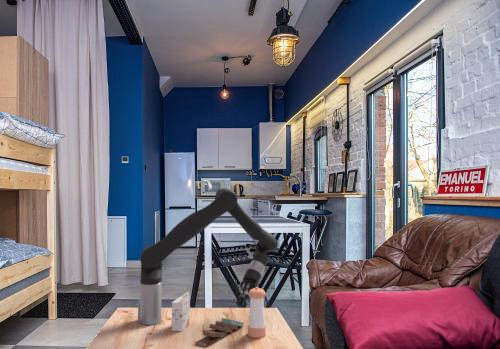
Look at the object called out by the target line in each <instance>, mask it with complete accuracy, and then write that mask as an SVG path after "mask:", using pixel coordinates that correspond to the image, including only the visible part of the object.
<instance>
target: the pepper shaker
mask: <svg viewBox="0 0 500 349" xmlns="http://www.w3.org/2000/svg"><path fill="white" fill-rule="evenodd" d="M248 295H249V297H250V300H249V301H250V302H249V312H248V313H249V314H248V325H247V336H248V337H250V338H251V339H252V338H253V339H261V338H264V337H266V330H267V328H266V324H265V323H266V316H265V315H266V314H265V308H264V306H265V305H264V300H265V299H264V298H265V297H266V292H265V290H264V289H263V288H259V287H258V286H257V287H255V288H253V289H251V290H250V291H249V293H248Z"/></svg>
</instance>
